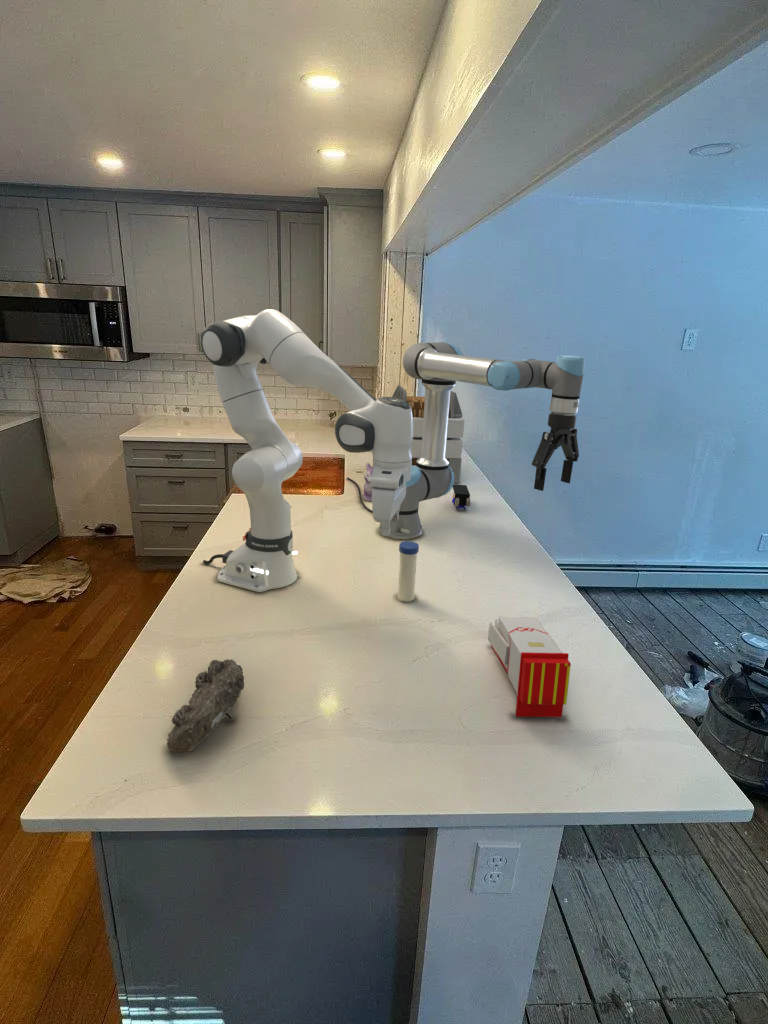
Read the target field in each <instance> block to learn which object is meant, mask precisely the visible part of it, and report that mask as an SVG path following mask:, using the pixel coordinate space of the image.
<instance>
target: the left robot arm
mask: <svg viewBox="0 0 768 1024" xmlns="http://www.w3.org/2000/svg"><path fill="white" fill-rule="evenodd" d="M200 343H201V345H200V346H201V348H202V349H201V350H202V352H203V354H204V356H205V357H206V359H207V360H208V361H209V363H211V364H212V365H213V375H214V381H215V385H216V388H217V392H218V395H219V398H220V401H221V403H222V405H223V408H224V411H225V413H226V416H227V418H228V421H229V423H230V426H231V428H232V430H233V431H234V433H235V434H236V435H239V436H240V437H242V438H243V439H244V440H245V441H246V443H247V444H248V445H249V447H250V449H251V450H249V451H247V452H245V453H244V454H243V455H241V456H240V457H239V458H238V459H237V460H236V461H235V462H234V464H233V465H232V468H231V478H232V481H233V482H234V485H235V486H236V487H237V488H238V489H239V490H240V491H241V492H243V493H244V496H245V497H246V500H247V504H248V508H249V519H250V528H248V531H246V532H245V533H244V535H243V536H242V541H243V542H244V541H245V542H244V543H243V544H241V545H240V546H238V547H237V548H235V550H231V549H229V550H228V551H226V552H224V553H222V554H221V553H219V554H218V553H217V554H214V555H212V556H211V557H210V558H209V560H206V559H203V560H202V563H203V564H205V565H210V564H212V563H213V561H214V560H215V559H220V558H221V559H222V564H225V565H224V566H223V567H222V568H221V569H220V570H219V572H218V573H217V581H218V582H219V583H223V584H227V585H230V586H235V587H239V588H242V589H246V590H249V591H252V592H256V593H265V592H266V591H269V590H273V589H274V590H275V589H281V588H284V587H287V586H290V585H292V584H294V583H295V582H296V581H297V579H298V573H297V571H296V566H295V562H294V557H293V556H295V555H298V550H294V551H293V549H294V538H293V537H294V535H293V534H294V533H293V530H292V512H291V511H292V509H291V504H290V503H289V502H288V501H287V500H286V499H285V497H284V495H283V490H282V485H283V483H284V482H285V481H287V480H289V479H290V478H292V477H293V476H295V474H297V473H298V471H299V470H300V468H301V467H302V465H303V461H304V457H303V452H302V450H301V448H300V447H299V446H298V445H297V444H296V443H295V442H293V441H292V440H291V439H289V438H288V437H287V435H286V434H285V432H284V431H283V430H282V428H281V426H280V425H279V424H278V422H277V420H276V418H275V416H274V415H273V412H272V409H271V407H270V405H269V402H268V399H267V397H266V394H265V391H264V390H263V386H262V384H261V382H260V379H259V376H258V373H257V368H258V364H259V363H260V364H262V365H265V364H269V366H270V367H271V368H272V369H273V370H274V372H275V373H276V374H277V375H278V376H279V377H280V378H282V379H283V380H284V381H285V382H287V383H288V384H290V385H292V386H296V387H300V388H308V389H315V390H319V391H323V392H326V393H328V394H330V395H332V396H334V397H335V398H336V399H337V400H338V401H339V402H340V403H341V404H343V406H344V407H346V408H347V410H349V411H347V412H345V413H342V414H341V415H340V416H339V417H338V418H337V420H336V423H335V427H334V436H335V439H336V441H337V444H338V445H339V447H340V448H342V449H343V450H344V451H345V452H348V453H354V454H359V453H371V454H372V465H373V467H372V466H371V467H372V474H371V477H370V487H373V489H372V501H371V504H372V505H371V507H372V508H371V509H372V511H373V513H372V517H373V520H374V522H375V523H379V526H380V525H381V534H382V535H381V534H380V535H381V536H382V537H384V536H389V534H390V528H391V527H390V521H391V522H397V520H398V518H399V510H400V505H401V503H402V502H403V500H404V498H405V496H406V482H407V481H409V480H410V479H411V469H412V455H411V444H412V441H413V415H412V410H411V407H410V405H409V404H408V403H407V402H406V401H404V400H401V399H398V398H392V396H382V397H379V398H376V397H374V396H373V395H372V394H371V393H370V392H369V391H368V390H366V389H365V388H364V387H363V386H362V385H361V384H360V383H359V382H358V381H357V380H356V379H355V378H354V377H353V376H351V374H349V373H348V371H346V370H345V369H344V368H343V367H341V365H339V364H338V363H337V362H335V361H334V360H332V358H331V357H329V356H328V355H326V353H324V351H322V349H320V348H319V346H317V345H316V343H314V342H313V341H312V340H311V339H310V337H308V336H307V335H306V333H305V332H304V331H303V330H302V329H301V328H300V327H299V326H298V325H297V324H295V322H293V321H292V320H291V318H289V317H287V316H286V315H285V314H283V313H282V312H281V311H279V310H277V309H275V308H268V309H264V310H261V311H259V312H258V313H257V314H256V315H238V316H236V317H232V318H228V319H224V320H216V321H214V322H212V323H210V324H208V325H206V326H205V327H204V328H203V330H202V333H201V337H200Z"/></svg>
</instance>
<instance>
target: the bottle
mask: <svg viewBox="0 0 768 1024" xmlns="http://www.w3.org/2000/svg"><path fill="white" fill-rule="evenodd" d="M417 560H418V553H416V554H412V555H408V554H403V553H401V552H400V551H399V567H398V568H399V569H398V582H397V583H398V584H397V599H398V600H399V601H402V602H412V601H413V600H414V599H415V589H416V588H415V587H416V573H417Z"/></svg>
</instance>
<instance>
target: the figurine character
mask: <svg viewBox="0 0 768 1024" xmlns="http://www.w3.org/2000/svg"><path fill="white" fill-rule="evenodd" d="M452 489H453V493H452V500H451V502H452V504H453V506H454V507H455V508H456V510H457V511H459V510H460V509H463V511H465V512H466V511H467V508H466V507H468V508H470V507H471V493H470V491H469V488H468V486H467V485H466V484H458V483H454V484H453V487H452Z"/></svg>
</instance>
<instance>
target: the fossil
mask: <svg viewBox="0 0 768 1024" xmlns="http://www.w3.org/2000/svg"><path fill="white" fill-rule="evenodd" d="M243 670H244V669H243V667H242V665H240V664H237V662H236V661H235V660H234V659H232V658H231V659H227V658H226V659H224V660H223V661H222V660H217V659H212V660H211V661H210V663H209V665H208V666H207V671H201V672H199V673H198V674H197V675H196V676H195V680H194V684H195V685H194V687H195V689H194V690H193V693H192V694H191V697H190V698H189V700H188V704H184V705H182V706H181V707H180V709H177V710H176V711H175V713H174V715H173V716H172V718H171V723H172V724H173V727H172V730H171V731H170V732H168V734H167V738H166V741H167V742H166V745H167V749H168V750H169V751H173V752H174V753H176V754H178V753H182V752H188V751H189V752H192V751H193V750H195V748H196V747H197V746H199V744H200V743H201V742H203V741H204V740H205V739H206V738H207V737H208V736H209V735H210V734H211V733H212V732H214V730H215V729H217V727H218V726H219V724H220V722H221V721H222V720H223V719H224V718H225V716H226V717H227V719H229V720H233V717H232V715H230V714H229V710H230V709H231V708H234V706H235V704H236V703H237V702H238V699H239V697H240V695H241V693H242V691H243V690H245V689H244V688H245V675H244V671H243Z"/></svg>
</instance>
